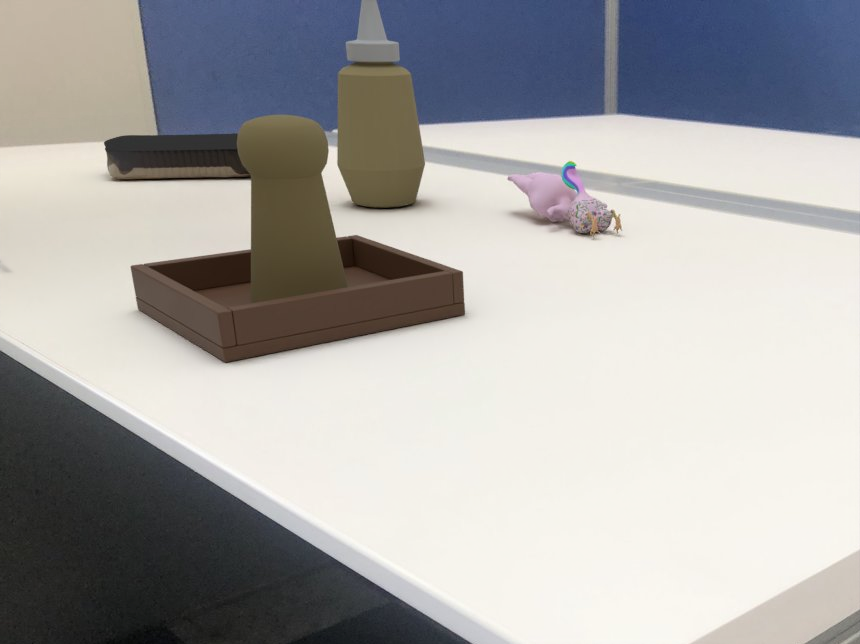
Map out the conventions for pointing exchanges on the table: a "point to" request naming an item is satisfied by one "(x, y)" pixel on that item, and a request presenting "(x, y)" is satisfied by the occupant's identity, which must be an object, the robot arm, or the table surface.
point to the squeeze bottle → (377, 120)
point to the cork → (289, 208)
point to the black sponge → (174, 156)
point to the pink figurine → (565, 199)
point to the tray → (295, 300)
